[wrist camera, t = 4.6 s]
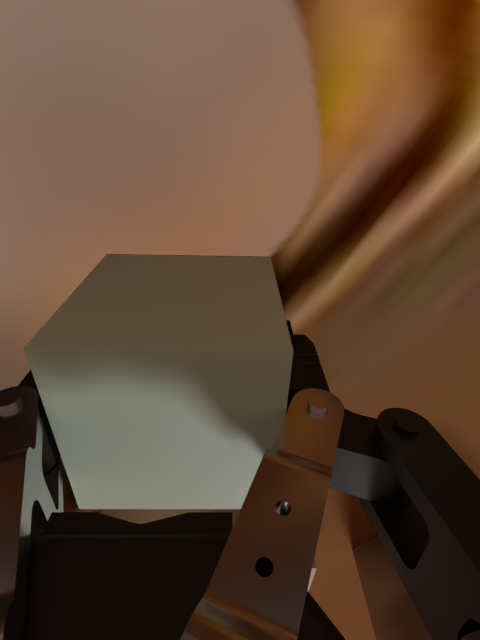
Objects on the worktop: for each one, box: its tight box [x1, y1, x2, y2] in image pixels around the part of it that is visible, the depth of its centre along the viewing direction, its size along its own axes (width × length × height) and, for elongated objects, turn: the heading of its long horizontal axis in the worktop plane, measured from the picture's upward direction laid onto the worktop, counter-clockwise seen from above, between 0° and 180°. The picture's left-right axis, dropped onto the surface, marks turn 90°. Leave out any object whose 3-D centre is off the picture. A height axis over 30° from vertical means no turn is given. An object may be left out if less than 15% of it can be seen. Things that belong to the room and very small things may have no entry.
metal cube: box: [352, 537, 432, 640], centre depth 19 cm, size 6×6×6 cm
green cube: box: [24, 254, 293, 509], centre depth 11 cm, size 6×6×6 cm
